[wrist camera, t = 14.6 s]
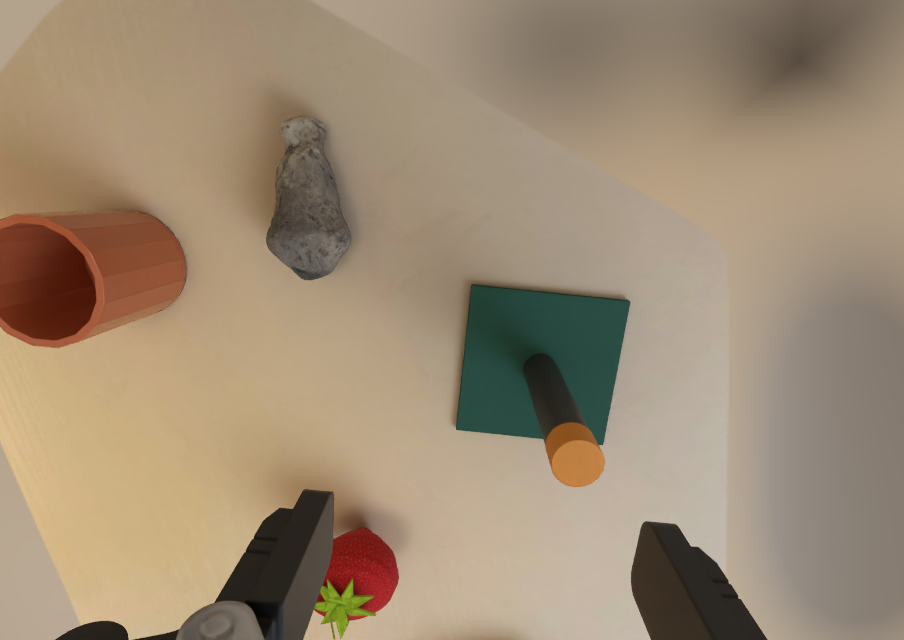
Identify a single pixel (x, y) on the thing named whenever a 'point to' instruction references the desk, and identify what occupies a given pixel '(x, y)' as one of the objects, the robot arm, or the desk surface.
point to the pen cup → (84, 273)
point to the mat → (529, 333)
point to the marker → (562, 425)
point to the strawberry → (357, 579)
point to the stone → (307, 204)
